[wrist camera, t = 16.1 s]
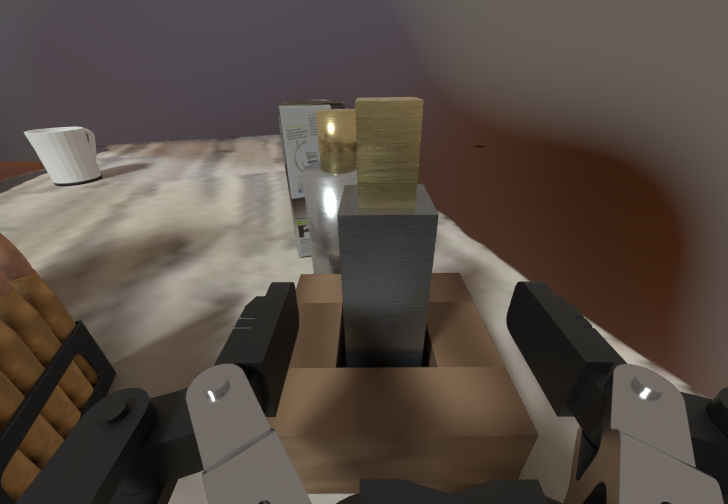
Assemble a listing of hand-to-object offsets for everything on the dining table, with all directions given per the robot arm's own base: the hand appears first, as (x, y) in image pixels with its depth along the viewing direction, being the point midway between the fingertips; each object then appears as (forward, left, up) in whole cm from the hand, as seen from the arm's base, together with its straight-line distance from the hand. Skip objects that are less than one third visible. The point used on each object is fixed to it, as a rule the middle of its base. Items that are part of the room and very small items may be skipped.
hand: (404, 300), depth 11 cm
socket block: (0, +4, -11) cm, 12 cm away
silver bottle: (-3, +14, -11) cm, 18 cm away
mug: (-63, +56, -11) cm, 85 cm away
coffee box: (-7, +26, -11) cm, 29 cm away
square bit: (0, +4, -10) cm, 11 cm away
